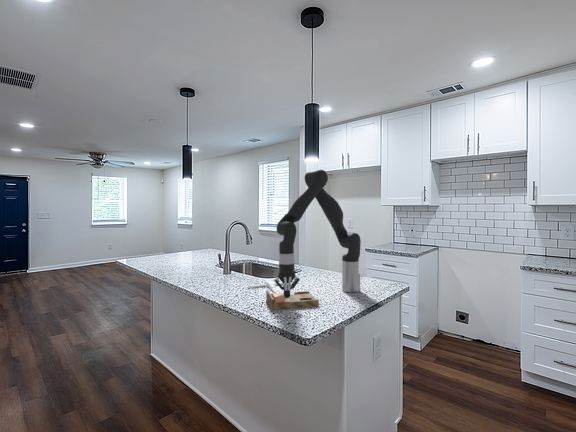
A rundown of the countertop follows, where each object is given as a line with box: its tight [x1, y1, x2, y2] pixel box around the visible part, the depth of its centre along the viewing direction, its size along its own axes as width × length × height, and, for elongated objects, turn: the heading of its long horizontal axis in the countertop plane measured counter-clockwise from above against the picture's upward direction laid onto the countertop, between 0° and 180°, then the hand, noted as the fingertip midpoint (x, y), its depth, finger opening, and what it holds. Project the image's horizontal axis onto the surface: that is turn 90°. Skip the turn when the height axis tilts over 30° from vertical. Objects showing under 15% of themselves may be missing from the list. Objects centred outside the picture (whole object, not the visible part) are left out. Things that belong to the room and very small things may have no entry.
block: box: [271, 293, 285, 303], centre depth 146 cm, size 5×5×4 cm
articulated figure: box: [247, 279, 284, 294], centre depth 177 cm, size 27×4×30 cm
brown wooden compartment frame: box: [265, 290, 320, 311], centre depth 153 cm, size 23×16×5 cm
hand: (287, 297), depth 148 cm, fingers closed
